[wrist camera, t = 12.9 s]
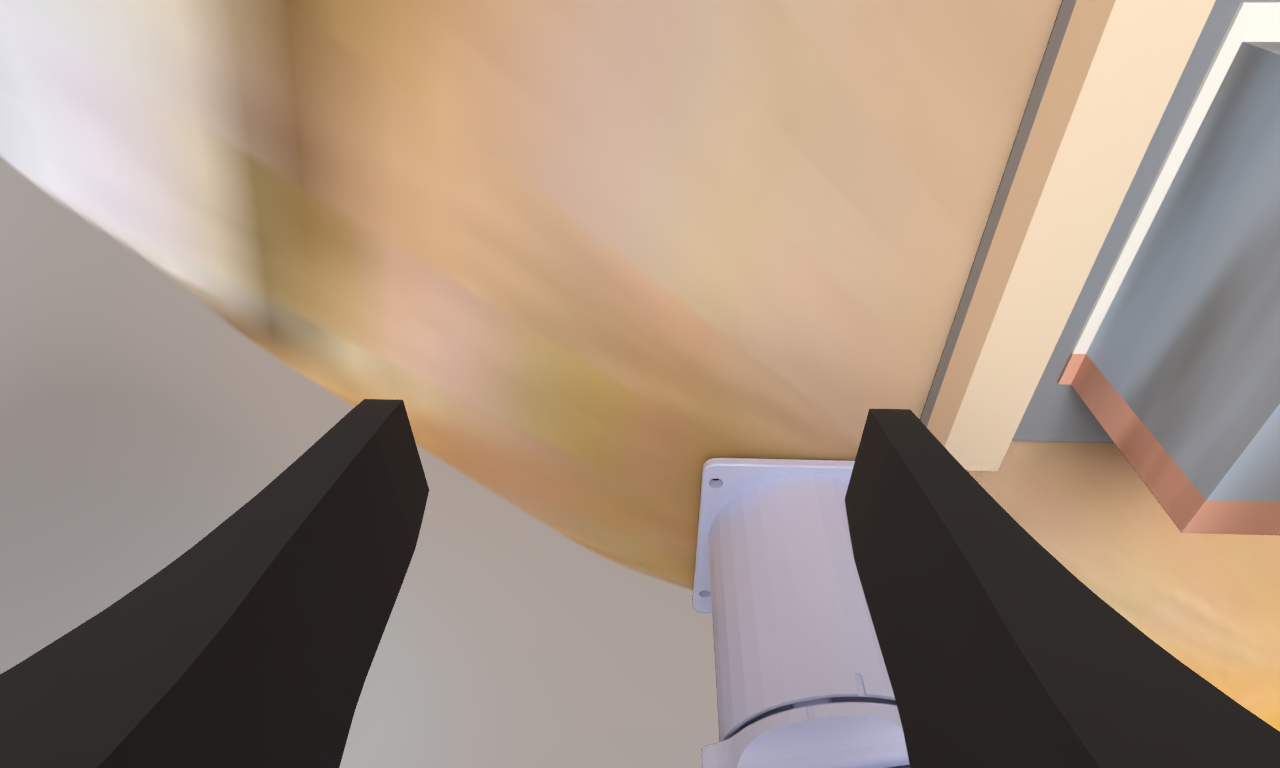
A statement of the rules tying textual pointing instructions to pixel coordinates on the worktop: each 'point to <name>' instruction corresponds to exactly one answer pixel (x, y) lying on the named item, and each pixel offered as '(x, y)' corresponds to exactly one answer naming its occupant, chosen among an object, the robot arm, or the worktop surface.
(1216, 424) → the painted block
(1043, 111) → the tray
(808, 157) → the worktop surface
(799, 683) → the robot arm
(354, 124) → the worktop surface
